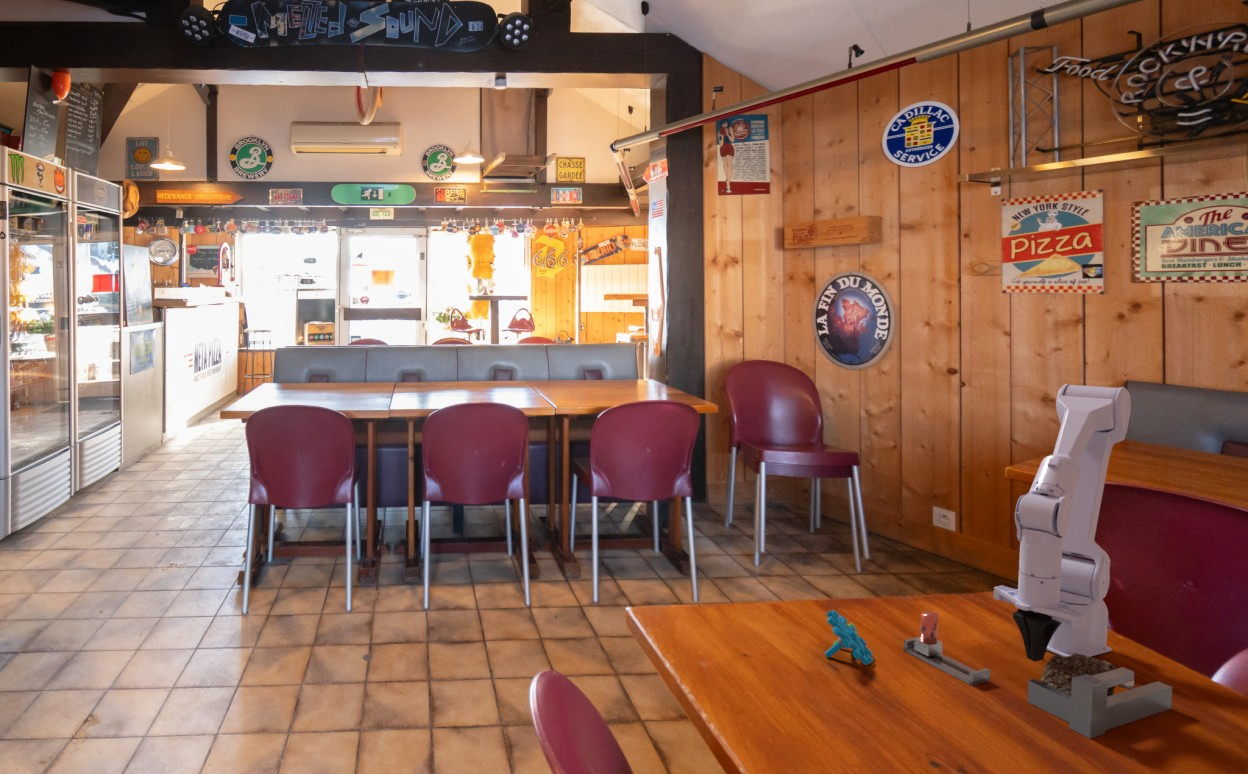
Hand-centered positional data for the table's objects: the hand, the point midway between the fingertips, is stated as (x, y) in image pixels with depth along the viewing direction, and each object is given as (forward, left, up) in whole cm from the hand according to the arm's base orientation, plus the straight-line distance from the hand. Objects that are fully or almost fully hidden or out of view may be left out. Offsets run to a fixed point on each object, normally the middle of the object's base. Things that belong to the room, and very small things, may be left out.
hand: (1035, 658), depth 126 cm
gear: (+22, -17, -3) cm, 28 cm away
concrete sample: (0, +7, -3) cm, 8 cm away
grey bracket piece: (+1, +11, -3) cm, 11 cm away
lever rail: (+10, -9, -3) cm, 13 cm away
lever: (+10, -12, -3) cm, 16 cm away
